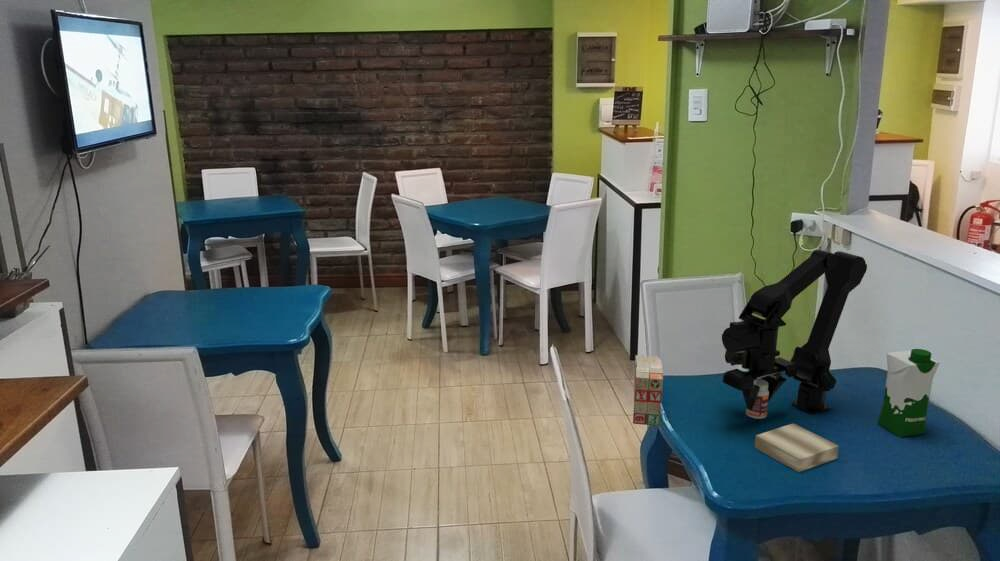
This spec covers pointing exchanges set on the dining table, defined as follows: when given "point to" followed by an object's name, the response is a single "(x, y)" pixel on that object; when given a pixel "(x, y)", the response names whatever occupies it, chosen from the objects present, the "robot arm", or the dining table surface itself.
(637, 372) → the stack of blocks
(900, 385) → the milk carton
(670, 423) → the dining table surface
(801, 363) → the robot arm
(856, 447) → the dining table surface
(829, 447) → the birch block
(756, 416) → the pill bottle
